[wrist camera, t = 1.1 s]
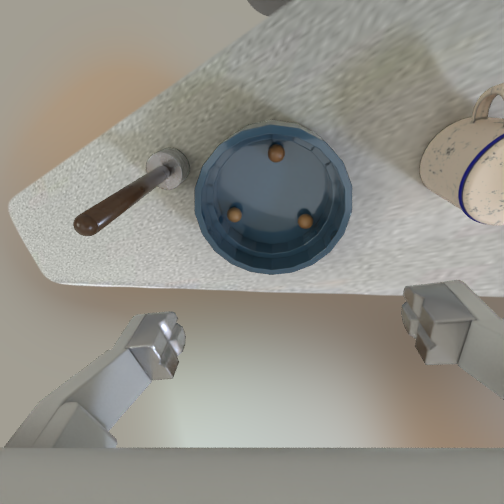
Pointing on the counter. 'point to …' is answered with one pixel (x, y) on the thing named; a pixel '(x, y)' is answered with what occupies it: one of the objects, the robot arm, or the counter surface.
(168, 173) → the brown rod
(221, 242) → the bowl
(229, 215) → the bead
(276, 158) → the bead
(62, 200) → the counter surface
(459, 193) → the teacup with lid
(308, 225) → the bead
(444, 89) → the counter surface
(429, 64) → the counter surface
